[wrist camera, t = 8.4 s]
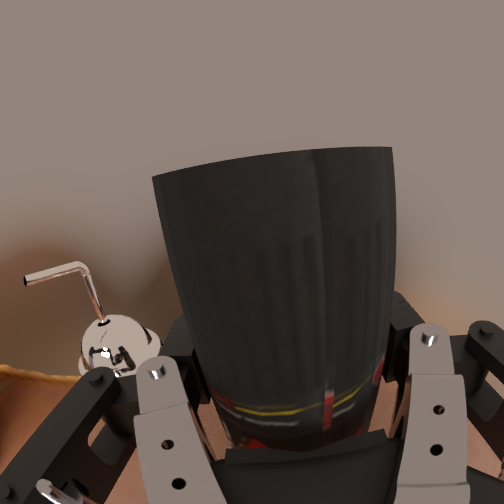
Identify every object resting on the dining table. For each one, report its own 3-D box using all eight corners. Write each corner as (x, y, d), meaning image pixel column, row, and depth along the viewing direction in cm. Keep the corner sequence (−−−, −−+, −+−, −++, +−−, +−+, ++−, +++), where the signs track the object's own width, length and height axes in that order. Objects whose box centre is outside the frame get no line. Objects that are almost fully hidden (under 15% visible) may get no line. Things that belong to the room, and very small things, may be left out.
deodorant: (226, 465, 12) (128, 183, 7) (302, 413, 15) (278, 157, 11) (297, 530, 7) (249, 153, 3) (375, 458, 11) (424, 148, 6)
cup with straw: (210, 430, 23) (141, 239, 17) (135, 468, 18) (17, 286, 12) (173, 387, 30) (117, 227, 23) (111, 417, 25) (30, 259, 18)
